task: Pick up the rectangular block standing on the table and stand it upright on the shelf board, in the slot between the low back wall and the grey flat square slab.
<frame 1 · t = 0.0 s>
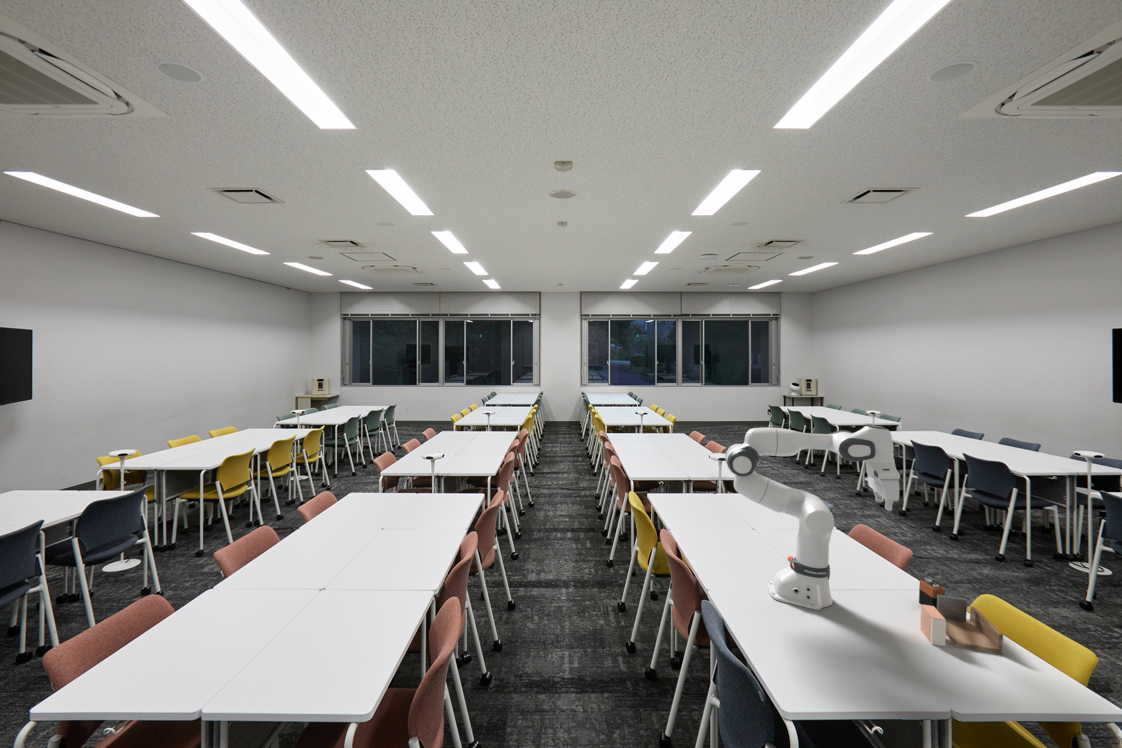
hand: (883, 505, 163), 39 cm above the table, tool pointing down, fingers open, 8 cm apart
battery: (931, 608, 164), on the table
grey flat square slab: (951, 623, 155), resting on shelf
shelf: (964, 635, 148), on the table
rectangular block: (932, 637, 147), on the table
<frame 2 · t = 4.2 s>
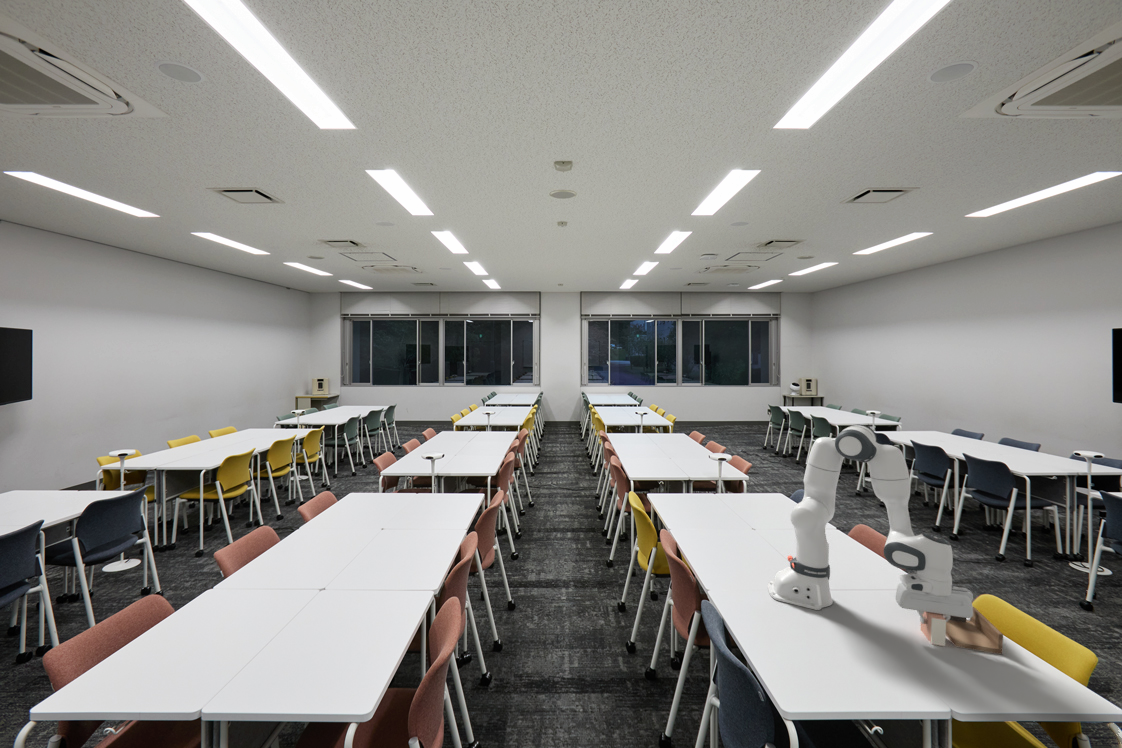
hand: (932, 624, 147), 5 cm above the table, tool pointing down, fingers closed on rectangular block, 3 cm apart
rectangular block: (932, 637, 147), on the table, touching gripper
everything else where it was.
when the fingers open (7 cm above the table, at t = 10.6 s): rectangular block stays where it is, resting on shelf.
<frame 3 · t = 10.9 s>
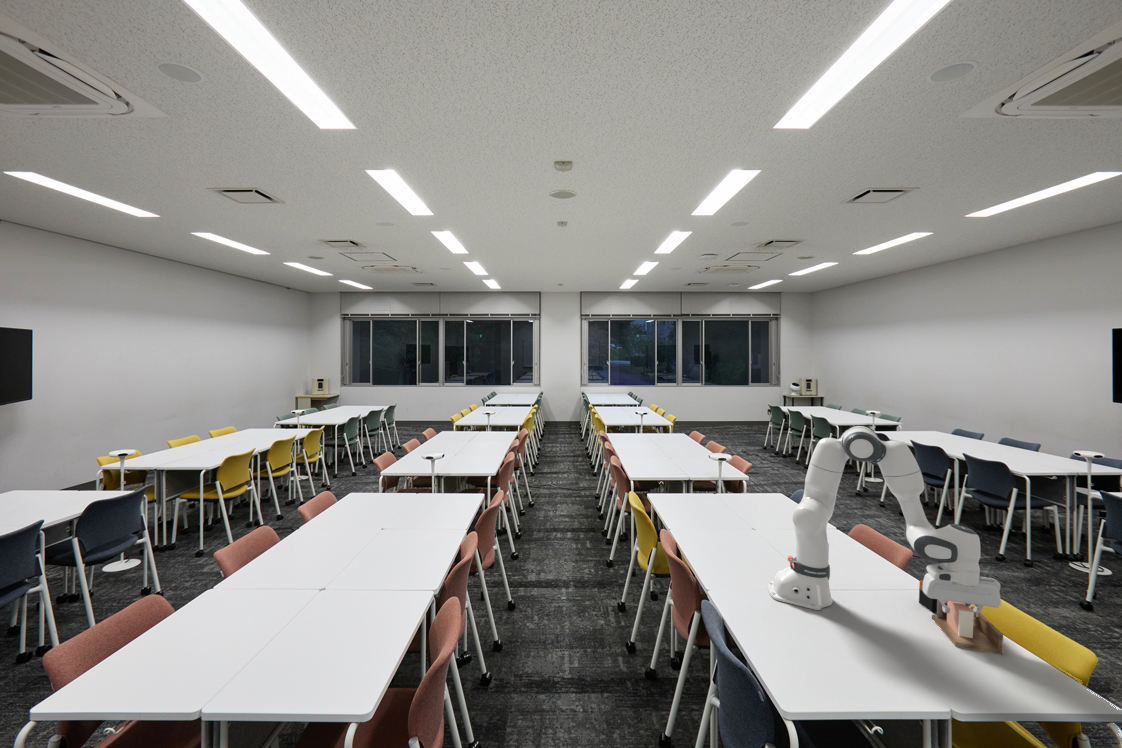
hand: (959, 614, 148), 7 cm above the table, tool pointing down, fingers open, 6 cm apart
rectangular block: (959, 630, 149), point 1 cm above the table, touching shelf
everything else where it was.
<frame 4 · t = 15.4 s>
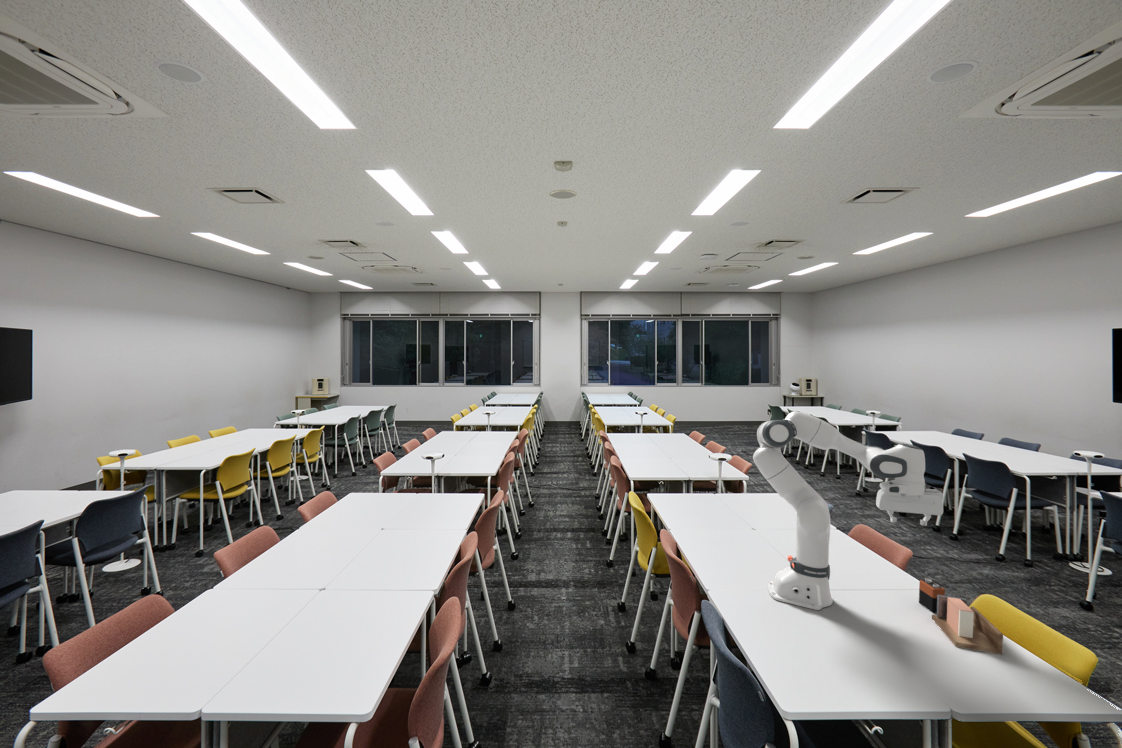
hand: (908, 523, 166), 31 cm above the table, tool pointing down, fingers open, 8 cm apart
nothing on the table moved.
at the end: rectangular block 0.4 cm from the target spot, point 1.5 cm above the table; rectangular block tilted 0°; the gripper is holding nothing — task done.
